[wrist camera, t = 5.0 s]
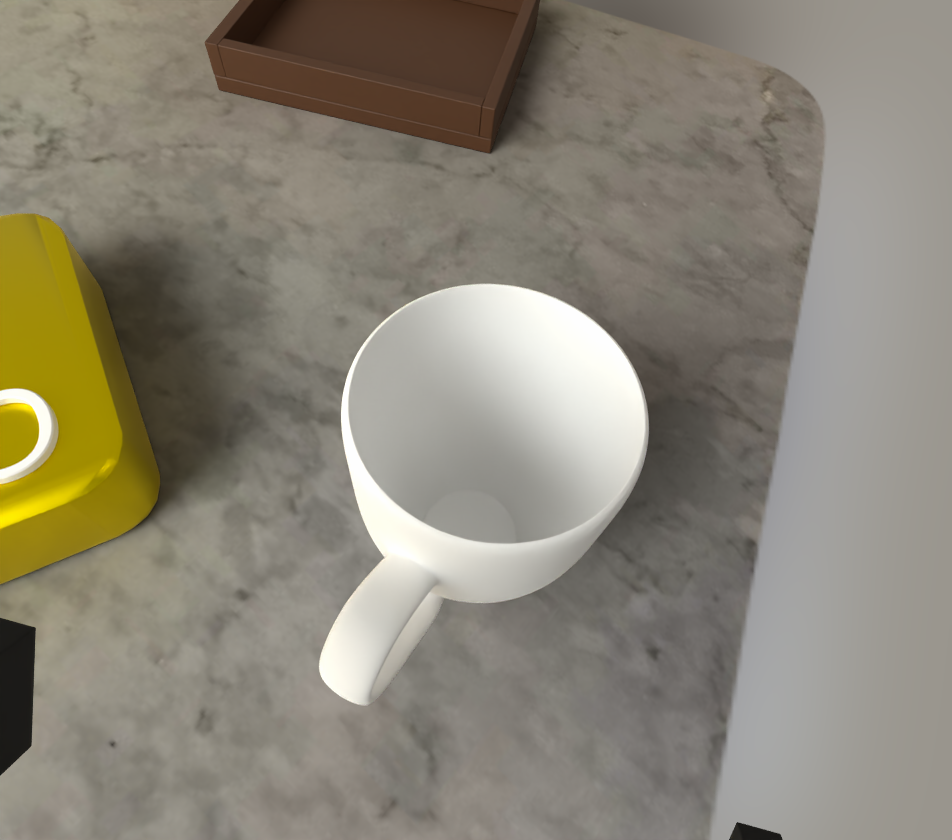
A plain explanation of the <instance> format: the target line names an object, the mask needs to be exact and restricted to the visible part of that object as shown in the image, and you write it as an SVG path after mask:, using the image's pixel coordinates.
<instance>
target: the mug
mask: <svg viewBox="0 0 952 840" xmlns="http://www.w3.org/2000/svg"><path fill="white" fill-rule="evenodd" d="M341 424H342V435H343V442H344V448H345V453H346V458H347V462H348V466H349V470H350V475H351V479H352V483H353V487H354V491H355V495H356V499H357V502H358V506H359V509H360V512H361V515H362V518H363V520H364V523H365V525H366V527H367V530H368V532H369V534H370V536H371V537H372V539H373V541H374V543H375V544H376V546H377V547H378V549H379V550H380V552H381V553H382V554H383V556H384V557H385V558H384V559H383V560H382V561H381V562H380V563H379V564H378V565H377V566H376V567H375V568H374V569H373V570H372V572H371V573H370V574H369V575H368V576H367V577H366V578H365V579H364V581H363V582H362V583H361V584H360V585H359V587H358V588H357V589H356V590H355V592H354V593H353V594H352V596H351V597H350V598H349V600H348V601H347V603H346V604H345V606H344V607H343V609H342V611H341V612H340V614H339V616H338V617H337V619H336V621H335V623H334V625H333V627H332V629H331V631H330V633H329V635H328V637H327V640H326V642H325V645H324V647H323V650H322V653H321V657H320V663H319V670H320V674H321V677H322V679H323V681H324V682H325V683H326V684H327V685H328V686H329V687H330V688H331V689H332V690H333V691H334V692H335V693H337V694H338V695H340V696H341V697H343V698H344V699H346V700H348V701H350V702H353V703H355V704H359V705H369V704H371V703H373V702H374V701H375V700H376V699H378V697H379V696H380V695H381V694H382V693H383V692H384V690H385V689H386V688H387V687H388V685H389V684H390V683H391V681H392V680H393V679H394V677H395V676H396V675H397V673H398V672H399V671H400V669H401V668H402V666H403V665H404V664H405V662H406V661H407V659H408V658H409V656H410V655H411V654H412V652H413V651H414V649H415V648H416V646H417V645H418V643H419V642H420V641H421V639H422V638H423V636H424V635H425V633H426V632H427V630H428V629H429V628H430V626H431V625H432V623H433V622H434V620H435V618H436V617H437V615H438V613H439V610H440V608H441V605H442V602H443V599H444V598H447V599H451V600H455V601H461V602H468V603H493V602H501V601H507V600H511V599H515V598H519V597H522V596H525V595H527V594H530V593H532V592H535V591H537V590H539V589H541V588H543V587H544V586H546V585H548V584H550V583H551V582H553V581H554V580H556V579H557V578H559V577H560V576H561V575H563V574H564V573H565V572H566V571H567V570H569V569H570V568H571V567H572V566H573V565H574V564H575V563H576V562H577V561H578V560H579V559H580V558H581V557H582V556H583V555H584V554H585V553H586V551H587V550H588V549H589V548H590V547H591V546H592V544H593V543H594V542H595V541H596V539H597V538H598V537H599V536H600V534H601V533H602V532H603V531H604V529H605V528H606V527H607V526H608V525H609V523H610V522H611V521H612V520H613V518H614V517H615V516H616V514H617V513H618V512H619V510H620V509H621V508H622V506H623V505H624V503H625V502H626V500H627V499H628V497H629V495H630V493H631V492H632V490H633V488H634V486H635V484H636V482H637V480H638V477H639V475H640V473H641V470H642V467H643V464H644V460H645V456H646V452H647V446H648V437H649V418H648V409H647V403H646V399H645V395H644V391H643V388H642V385H641V383H640V380H639V378H638V375H637V373H636V371H635V369H634V367H633V365H632V364H631V362H630V360H629V359H628V357H627V355H626V354H625V353H624V351H623V350H622V348H621V347H620V346H619V345H618V343H617V342H616V341H615V340H614V339H613V338H612V337H611V335H610V334H609V333H608V332H607V331H606V330H604V329H603V328H602V327H601V326H600V325H599V324H598V323H597V322H595V321H594V320H593V319H591V318H590V317H589V316H587V315H586V314H584V313H583V312H581V311H580V310H578V309H577V308H575V307H573V306H571V305H570V304H568V303H566V302H564V301H562V300H559V299H557V298H555V297H552V296H550V295H547V294H545V293H541V292H538V291H535V290H531V289H527V288H523V287H518V286H512V285H503V284H471V285H463V286H456V287H451V288H447V289H443V290H440V291H436V292H433V293H431V294H428V295H425V296H423V297H421V298H418V299H416V300H414V301H412V302H410V303H409V304H407V305H405V306H403V307H402V308H400V309H399V310H397V311H396V312H394V313H393V314H392V315H391V316H389V317H388V318H387V319H386V320H384V321H383V322H382V323H381V324H380V325H379V326H378V327H377V328H376V329H375V330H374V331H373V333H372V334H371V335H370V336H369V337H368V339H367V340H366V341H365V343H364V344H363V345H362V347H361V349H360V350H359V352H358V354H357V355H356V357H355V359H354V361H353V363H352V366H351V368H350V371H349V374H348V376H347V380H346V383H345V387H344V392H343V398H342V409H341Z"/></svg>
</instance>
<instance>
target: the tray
mask: <svg viewBox="0 0 952 840" xmlns="http://www.w3.org/2000/svg"><path fill="white" fill-rule="evenodd" d="M539 3H540V0H239V1H238V3H237V4H236V5H235V6H234V7H233V9H232V10H231V11H230V12H229V13H228V15H227V16H226V17H225V18H224V19H223V21H222V22H221V23H220V24H219V25H218V27H217V28H216V29H215V30H214V32H213V33H212V34H211V35H210V36H209V38H208V39H207V40H206V41H205V45H206V48H207V52H208V55H209V58H210V62H211V65H212V69H213V72H214V75H215V78H216V81H217V84H218V88H219V90H222V91H226V92H230V93H234V94H239V95H243V96H247V97H251V98H256V99H260V100H264V101H269V102H273V103H277V104H281V105H286V106H290V107H294V108H298V109H303V110H307V111H311V112H315V113H320V114H324V115H328V116H332V117H337V118H341V119H345V120H349V121H354V122H358V123H362V124H366V125H371V126H375V127H379V128H384V129H388V130H392V131H396V132H401V133H405V134H409V135H413V136H418V137H422V138H426V139H430V140H435V141H439V142H443V143H447V144H452V145H456V146H460V147H464V148H469V149H473V150H477V151H481V152H486V153H490V152H491V150H492V147H493V144H494V141H495V138H496V136H497V133H498V130H499V127H500V125H501V122H502V119H503V116H504V114H505V111H506V108H507V105H508V102H509V100H510V97H511V94H512V91H513V89H514V86H515V83H516V80H517V77H518V75H519V72H520V69H521V66H522V64H523V61H524V58H525V55H526V53H527V50H528V47H529V44H530V41H531V39H532V36H533V33H534V30H535V28H536V22H537V16H538V10H539Z"/></svg>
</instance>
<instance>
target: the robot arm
mask: <svg viewBox="0 0 952 840" xmlns="http://www.w3.org/2000/svg"><path fill="white" fill-rule="evenodd" d="M35 630H36V628H35V627H31V626H27V625H24V624H20V623H17V622H13V621H9V620H6V619H2V618H0V775H1V774H3V773H4V772H5V771H6V770H7V769H8V768H9V767H10V766H11V765H12V764H13V763H14V762H15V761H16V760H17V759H18V758H19V757H20V756H21V755H22V754H23V753H25V752H26V751H27V750H28V749H29V748H30V747H31V743H32V715H33V687H34V659H35ZM729 840H782V837H781V835H780V834H778V833H774V832H771V831H767V830H763V829H760V828H756V827H752V826H749V825H746V824H742V823H738V822H737V823H736V826H735V828H734V830H733V832H732V835H731V837H730V839H729Z"/></svg>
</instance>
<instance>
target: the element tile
mask: <svg viewBox="0 0 952 840" xmlns="http://www.w3.org/2000/svg"><path fill="white" fill-rule="evenodd" d="M159 487H160V473H159V470H158V466H157V463H156V460H155V457H154V454H153V450H152V447H151V444H150V441H149V438H148V435H147V431H146V428H145V425H144V422H143V419H142V416H141V412H140V409H139V406H138V403H137V400H136V396H135V393H134V390H133V387H132V384H131V381H130V377H129V374H128V371H127V368H126V365H125V362H124V358H123V355H122V352H121V349H120V346H119V343H118V339H117V336H116V333H115V330H114V327H113V323H112V320H111V317H110V314H109V311H108V308H107V304H106V301H105V298H104V295H103V292H102V289H101V287H100V286H99V284H98V283H97V281H96V280H95V278H94V277H93V275H92V274H91V272H90V271H89V269H88V268H87V266H86V265H85V263H84V262H83V260H82V259H81V257H80V256H79V254H78V253H77V251H76V250H75V248H74V247H73V245H72V244H71V242H70V241H69V239H68V238H67V236H66V235H65V233H64V232H63V230H62V229H61V228H60V227H59V226H58V225H57V224H55V223H54V222H53V221H52V220H51V219H49V218H47V217H44V216H41V215H38V214H11V215H4V216H0V584H3V583H5V582H8V581H10V580H13V579H15V578H18V577H20V576H22V575H25V574H27V573H30V572H32V571H35V570H37V569H40V568H42V567H45V566H47V565H50V564H52V563H54V562H57V561H59V560H62V559H64V558H67V557H69V556H72V555H74V554H77V553H79V552H82V551H84V550H87V549H89V548H91V547H94V546H96V545H99V544H101V543H104V542H106V541H109V540H111V539H114V538H116V537H118V536H120V535H122V534H124V533H125V532H127V531H129V530H131V529H133V528H134V527H135V526H136V525H138V524H139V523H140V522H141V521H142V520H143V519H145V518H146V517H147V516H148V515H149V513H150V512H151V510H152V508H153V507H154V505H155V504H156V502H157V498H158V493H159Z"/></svg>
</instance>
